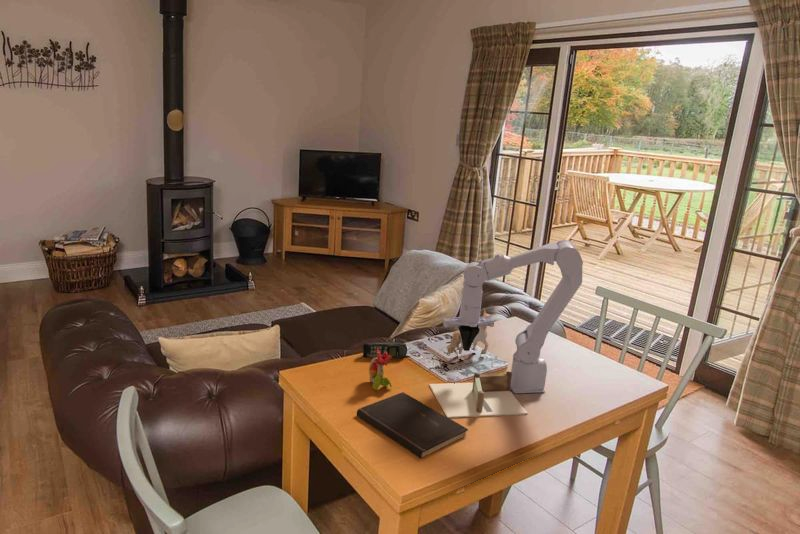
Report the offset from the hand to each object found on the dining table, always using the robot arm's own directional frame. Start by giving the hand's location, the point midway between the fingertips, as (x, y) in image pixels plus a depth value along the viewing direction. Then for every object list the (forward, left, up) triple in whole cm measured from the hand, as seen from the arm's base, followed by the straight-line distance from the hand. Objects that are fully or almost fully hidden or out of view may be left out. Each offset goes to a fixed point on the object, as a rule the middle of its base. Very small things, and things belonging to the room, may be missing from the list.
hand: (466, 349), depth 168 cm
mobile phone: (+19, -17, -10) cm, 28 cm away
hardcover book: (+21, +23, -10) cm, 33 cm away
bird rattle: (+26, +2, -10) cm, 28 cm away
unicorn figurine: (-7, -18, -10) cm, 22 cm away
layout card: (0, +12, -9) cm, 15 cm away
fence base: (-6, +8, -9) cm, 13 cm away
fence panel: (+1, +14, -9) cm, 17 cm away
